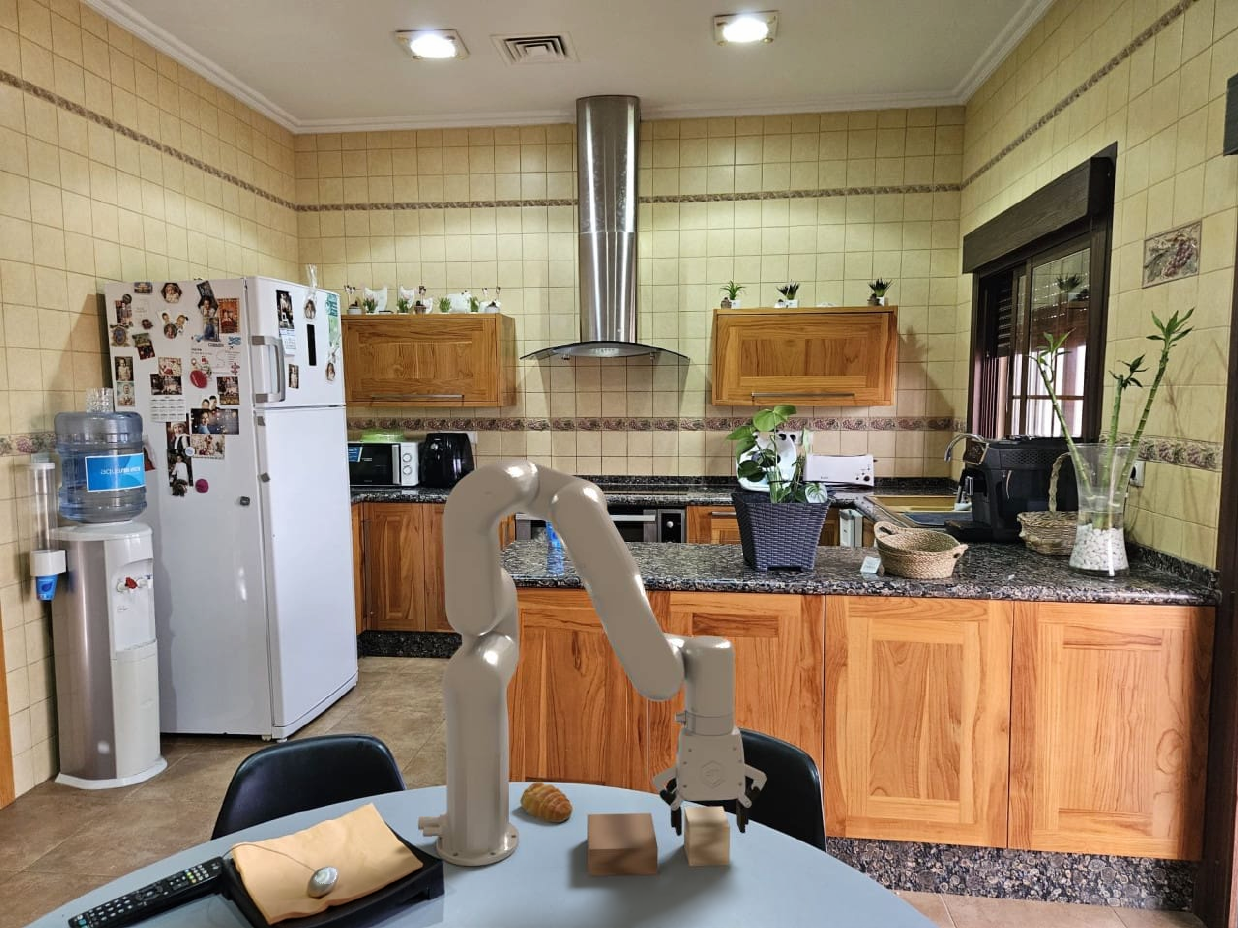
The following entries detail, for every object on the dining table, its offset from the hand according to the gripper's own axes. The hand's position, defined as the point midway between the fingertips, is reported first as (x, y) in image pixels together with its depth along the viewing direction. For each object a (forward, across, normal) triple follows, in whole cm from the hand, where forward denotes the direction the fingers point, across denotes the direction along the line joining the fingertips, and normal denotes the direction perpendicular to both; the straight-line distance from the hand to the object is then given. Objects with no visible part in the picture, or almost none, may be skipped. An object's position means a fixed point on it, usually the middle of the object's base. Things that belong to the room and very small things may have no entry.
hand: (709, 829), depth 121 cm
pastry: (+4, -25, +15) cm, 29 cm away
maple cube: (+4, 0, 0) cm, 4 cm away
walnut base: (+4, -14, 0) cm, 14 cm away
